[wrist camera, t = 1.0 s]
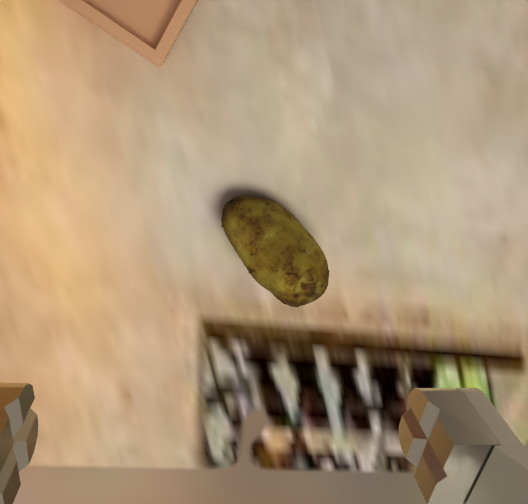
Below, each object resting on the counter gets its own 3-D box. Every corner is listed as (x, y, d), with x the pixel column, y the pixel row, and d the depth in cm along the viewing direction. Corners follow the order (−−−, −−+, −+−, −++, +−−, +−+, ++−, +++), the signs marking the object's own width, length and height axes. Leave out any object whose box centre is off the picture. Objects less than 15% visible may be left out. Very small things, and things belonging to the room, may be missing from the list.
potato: (283, 166, 47) (297, 192, 40) (327, 262, 52) (345, 299, 45) (212, 201, 47) (213, 232, 40) (263, 291, 53) (271, 332, 46)
